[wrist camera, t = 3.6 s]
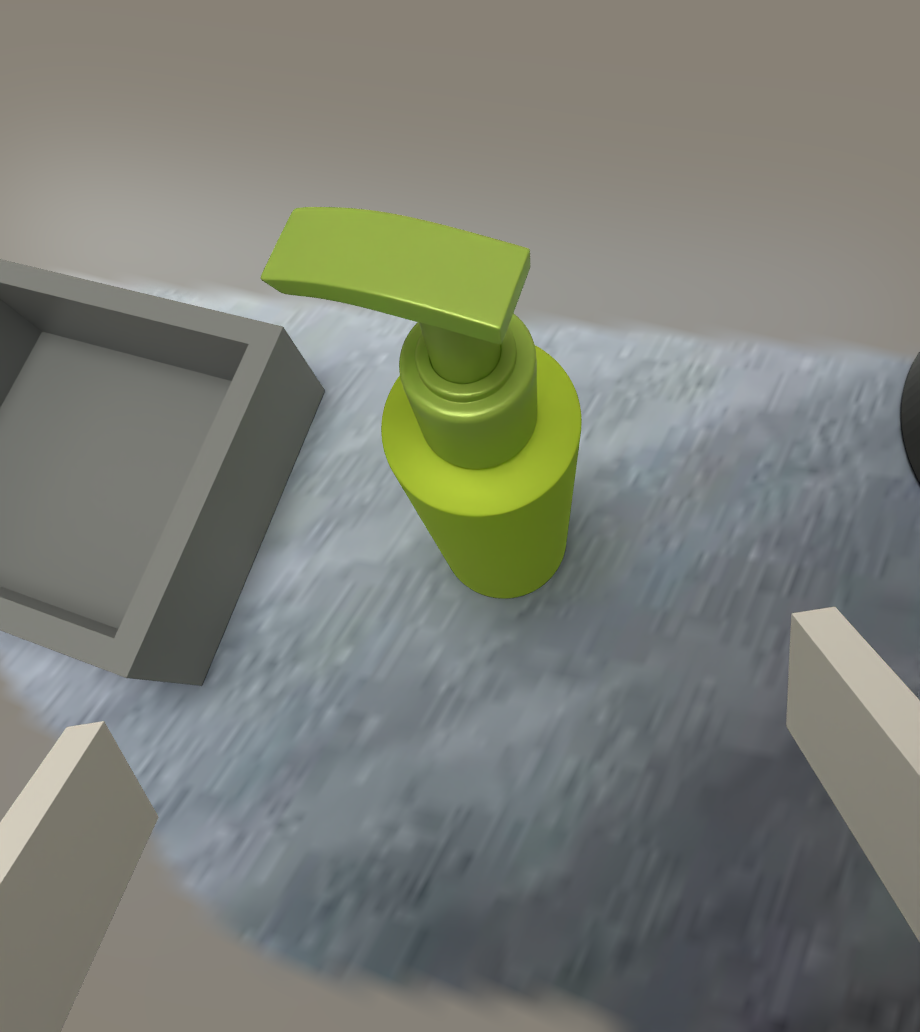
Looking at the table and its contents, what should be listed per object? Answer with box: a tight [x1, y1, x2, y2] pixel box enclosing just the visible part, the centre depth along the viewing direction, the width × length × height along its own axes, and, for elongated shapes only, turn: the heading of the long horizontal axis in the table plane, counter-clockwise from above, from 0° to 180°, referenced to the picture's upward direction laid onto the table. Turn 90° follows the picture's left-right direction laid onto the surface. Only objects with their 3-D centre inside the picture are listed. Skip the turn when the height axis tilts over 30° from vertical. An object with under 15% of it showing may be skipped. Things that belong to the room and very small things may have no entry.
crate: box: [0, 259, 325, 686], centre depth 32 cm, size 18×16×6 cm
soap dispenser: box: [261, 207, 581, 598], centre depth 22 cm, size 6×7×20 cm
